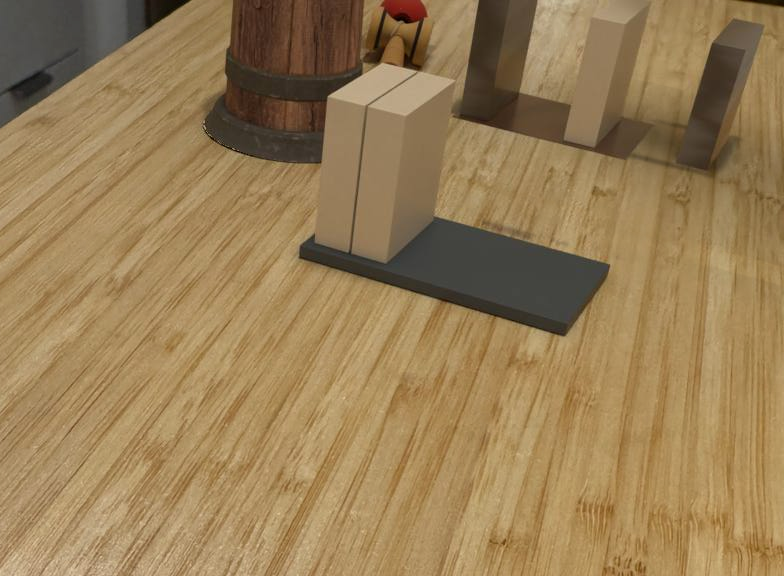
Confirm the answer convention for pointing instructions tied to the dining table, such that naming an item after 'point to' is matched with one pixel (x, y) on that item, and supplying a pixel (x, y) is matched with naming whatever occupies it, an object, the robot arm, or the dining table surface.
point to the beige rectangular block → (606, 70)
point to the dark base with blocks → (426, 210)
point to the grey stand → (549, 118)
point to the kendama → (400, 31)
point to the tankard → (285, 75)
